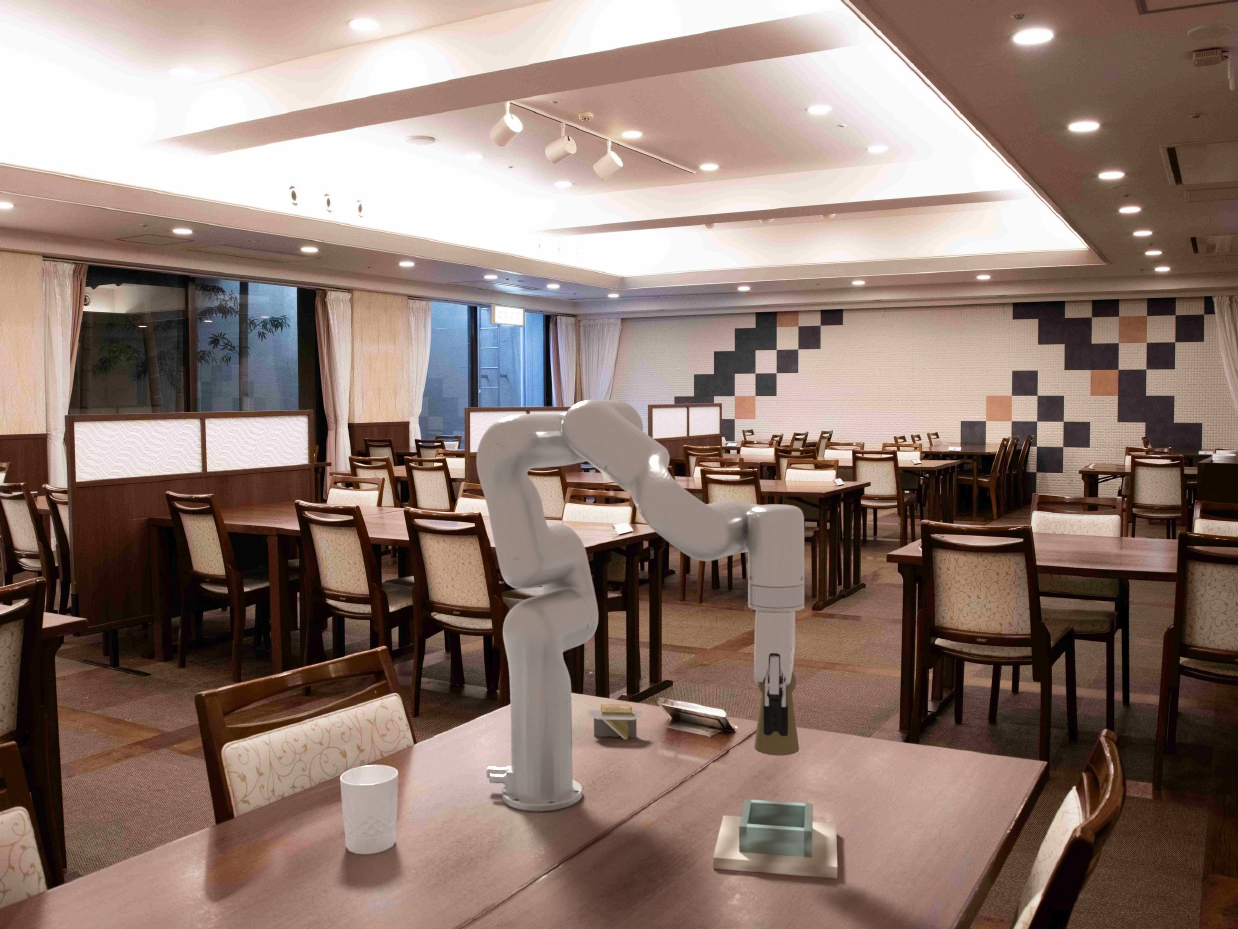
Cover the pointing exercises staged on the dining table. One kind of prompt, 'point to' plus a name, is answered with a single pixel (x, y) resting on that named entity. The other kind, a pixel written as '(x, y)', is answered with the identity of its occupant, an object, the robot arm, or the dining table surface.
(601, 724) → the platform
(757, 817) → the shaker caddy
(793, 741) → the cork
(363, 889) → the dining table surface
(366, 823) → the white cup
